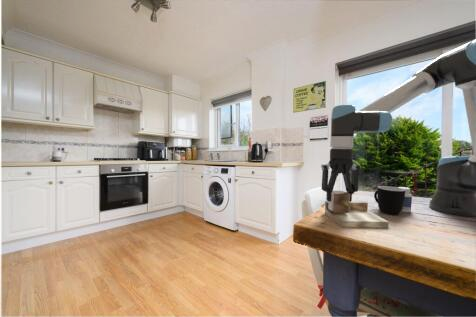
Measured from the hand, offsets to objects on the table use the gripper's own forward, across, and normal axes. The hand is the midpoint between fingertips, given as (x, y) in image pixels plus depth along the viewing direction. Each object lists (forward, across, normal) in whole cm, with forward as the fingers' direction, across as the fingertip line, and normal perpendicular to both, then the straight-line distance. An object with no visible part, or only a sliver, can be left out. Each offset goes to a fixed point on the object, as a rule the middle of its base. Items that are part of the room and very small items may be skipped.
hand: (338, 209), depth 76 cm
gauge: (0, 0, +3) cm, 3 cm away
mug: (+3, -24, -8) cm, 26 cm away
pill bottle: (+3, -32, -10) cm, 34 cm away
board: (+3, -5, +2) cm, 6 cm away
